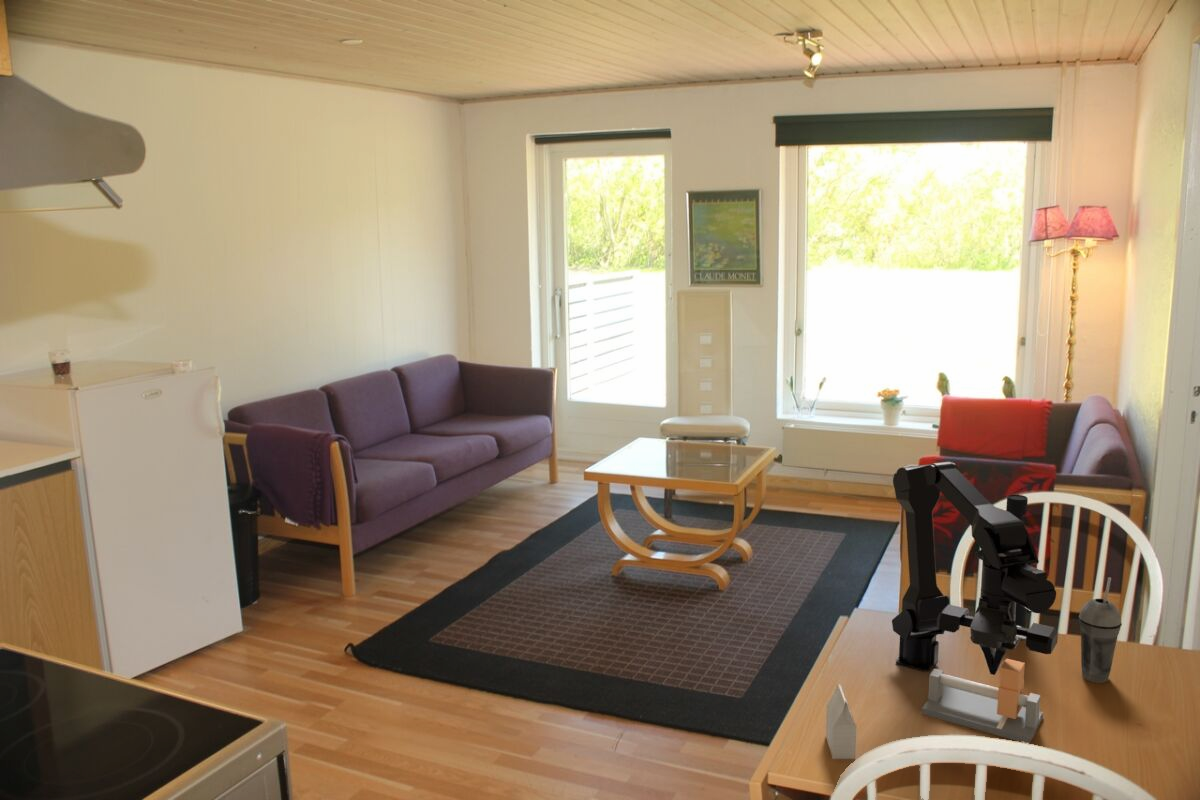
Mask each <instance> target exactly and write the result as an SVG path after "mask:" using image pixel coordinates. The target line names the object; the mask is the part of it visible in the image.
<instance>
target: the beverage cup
mask: <svg viewBox="0 0 1200 800" xmlns="http://www.w3.org/2000/svg"><path fill="white" fill-rule="evenodd" d="M1111 582H1112V577H1110V576H1109V577H1107V582H1106V585H1105V586H1106V588H1105V592H1104V596H1103V598H1093V599H1090V600H1089V601H1087V602H1085V603H1084V605H1082V607H1081V608H1080V611H1079V615H1078V620H1079V627H1080V653H1081V655H1080V661H1081V676H1082V677H1083V679H1085V680H1087V681H1089V682H1092V683H1097V682H1101V683H1106V681H1107V682H1108V681H1109V678H1110V674H1111V670H1112V665H1113V661H1114V660H1113V659H1114V655H1115V651H1116V645H1117V641H1118V635H1119V634H1120V630H1121V627H1122V617H1121V613H1120V611H1119V608H1118V607H1117V606H1116V605H1115V604H1114V603H1113V602H1112V601H1109V600H1108V596H1109V592H1110V587H1111ZM1101 683H1100V684H1101Z"/></svg>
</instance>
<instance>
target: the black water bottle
mask: <svg viewBox="0 0 1200 800" xmlns="http://www.w3.org/2000/svg"><path fill="white" fill-rule="evenodd" d="M1028 500H1029V499H1028V497H1027V496H1026V495H1022V494H1013V493H1012V494H1009V495H1007V497H1006V508H1005V511H1008V512H1010V513H1011V514H1013V515H1014V516H1015V517H1017V518H1018V519H1020V520H1021V521H1022V522H1023V523H1024V516H1025V515H1027V512H1028V502H1029V501H1028ZM1002 554H1004V555H1006V556H1010V555H1017V554H1023V553H1022V551H1016V552H1009V553H1002ZM1027 610H1028V609H1026V608H1025V607H1023V606H1021V605H1019V604H1018V603H1016V611H1015V615H1016V617H1015V622H1016V625H1017V626H1021V627H1022V628H1026V627H1027V626H1026V625H1027ZM1020 641H1023V639H1021V640H1020Z"/></svg>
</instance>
